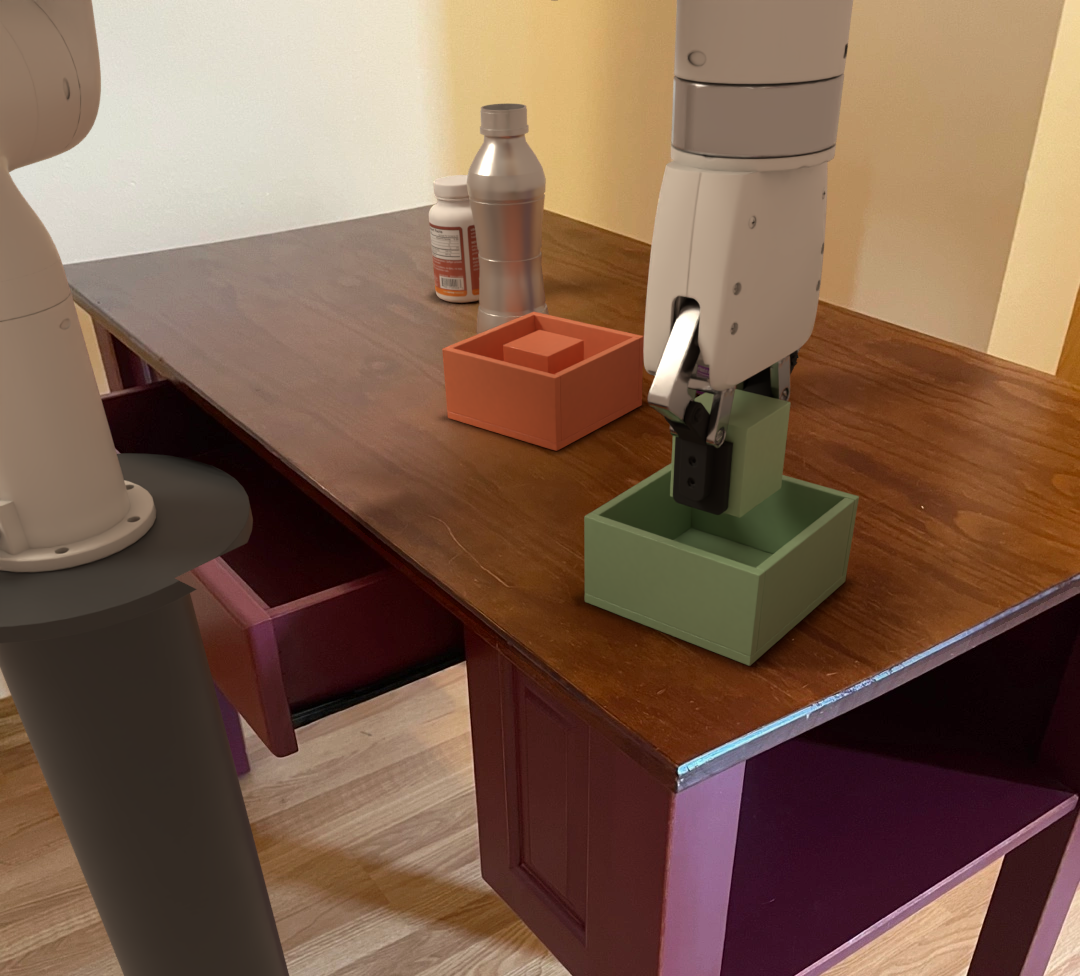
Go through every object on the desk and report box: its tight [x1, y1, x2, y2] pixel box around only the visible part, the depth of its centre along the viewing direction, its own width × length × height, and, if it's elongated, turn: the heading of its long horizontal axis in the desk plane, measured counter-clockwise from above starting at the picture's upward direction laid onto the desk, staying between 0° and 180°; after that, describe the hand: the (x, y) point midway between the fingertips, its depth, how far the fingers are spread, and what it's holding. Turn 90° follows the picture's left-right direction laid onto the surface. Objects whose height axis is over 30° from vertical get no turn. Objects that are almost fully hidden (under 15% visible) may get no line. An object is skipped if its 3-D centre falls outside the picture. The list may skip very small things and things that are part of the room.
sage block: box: [670, 389, 792, 518], centre depth 59 cm, size 4×4×5 cm
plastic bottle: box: [467, 103, 550, 335], centre depth 92 cm, size 6×7×20 cm
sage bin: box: [583, 462, 860, 667], centre depth 63 cm, size 11×11×6 cm
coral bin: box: [441, 312, 644, 452], centre depth 86 cm, size 11×11×6 cm
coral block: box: [503, 330, 584, 374], centre depth 86 cm, size 4×4×5 cm
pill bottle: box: [428, 174, 480, 304], centre depth 110 cm, size 6×6×11 cm
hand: (725, 486), depth 60 cm, fingers closed on sage block, 4 cm apart
